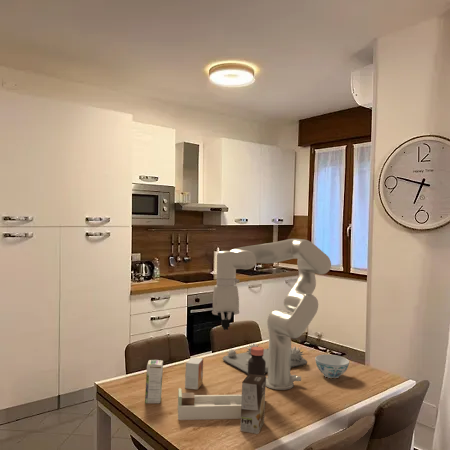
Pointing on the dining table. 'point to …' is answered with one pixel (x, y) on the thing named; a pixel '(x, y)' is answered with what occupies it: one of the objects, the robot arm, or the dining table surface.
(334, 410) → the dining table surface
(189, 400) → the walnut block
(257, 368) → the bottle
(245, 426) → the coffee box
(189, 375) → the small box
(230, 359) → the decorative tray
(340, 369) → the chinaware
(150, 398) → the syrup box
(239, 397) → the tray
